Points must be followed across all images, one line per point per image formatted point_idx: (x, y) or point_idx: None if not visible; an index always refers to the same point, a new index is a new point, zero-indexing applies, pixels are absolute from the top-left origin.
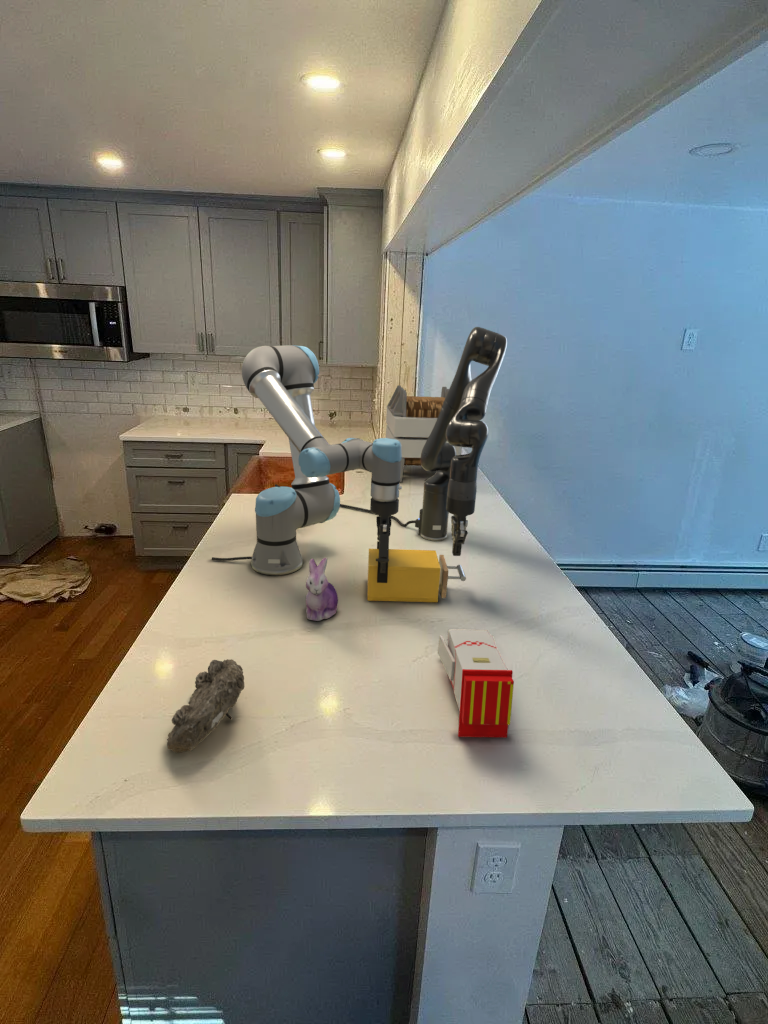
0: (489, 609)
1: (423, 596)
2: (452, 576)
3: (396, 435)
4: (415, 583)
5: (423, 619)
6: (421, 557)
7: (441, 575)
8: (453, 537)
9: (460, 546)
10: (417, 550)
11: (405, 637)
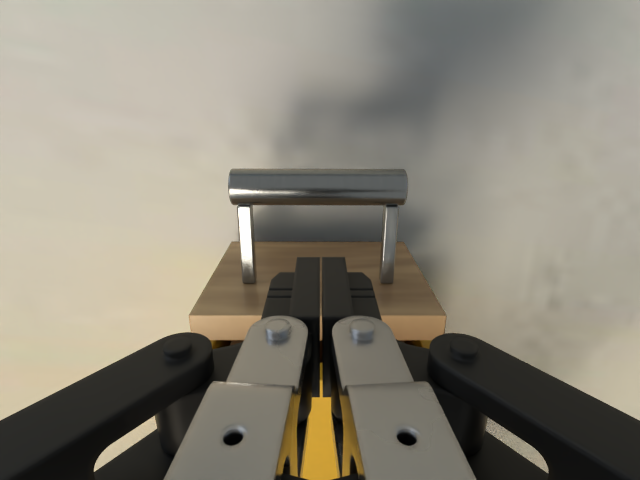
0: (486, 31)
1: None
2: (386, 252)
3: None
4: None
5: (532, 331)
6: (304, 464)
7: None
8: (305, 444)
9: (379, 319)
10: None
11: (635, 391)
